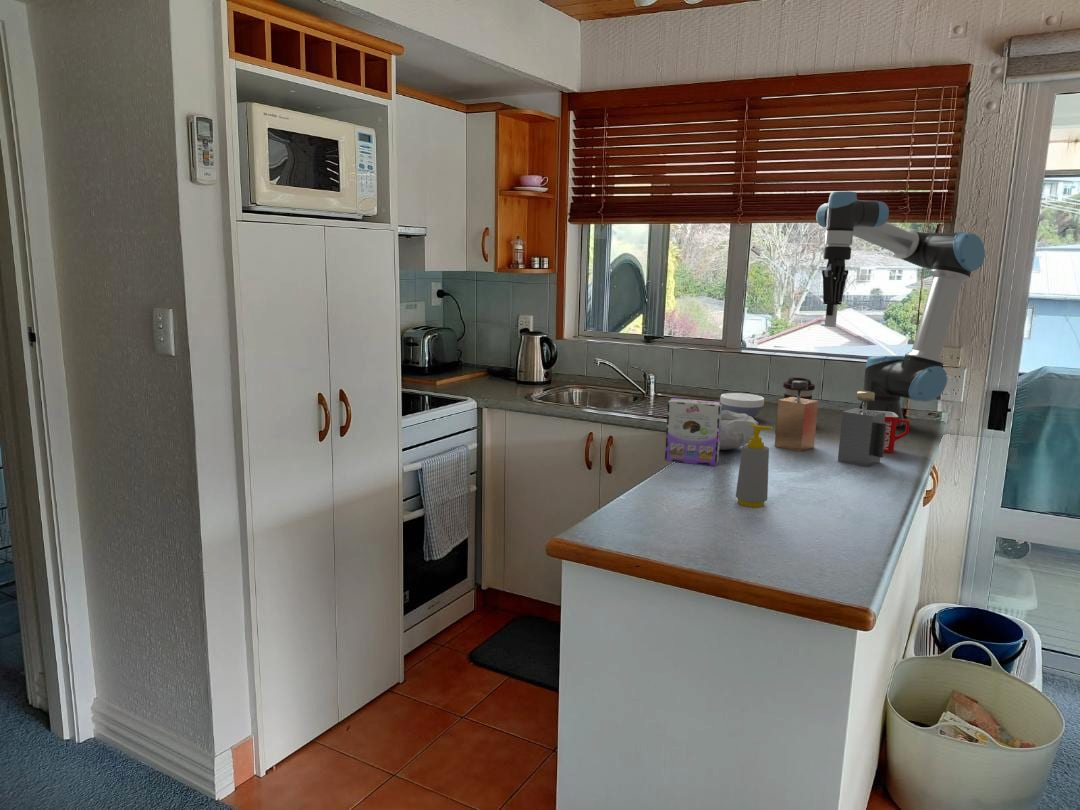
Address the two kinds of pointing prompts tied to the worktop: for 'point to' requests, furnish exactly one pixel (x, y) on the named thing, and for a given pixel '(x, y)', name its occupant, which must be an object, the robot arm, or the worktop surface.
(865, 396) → the beige t-shaped piece
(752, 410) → the bowl
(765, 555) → the worktop surface
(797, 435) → the tall wooden block
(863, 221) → the robot arm
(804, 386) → the grey t-shaped piece
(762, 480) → the soap bottle
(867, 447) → the grey block
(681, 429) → the candy box
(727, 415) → the white crumpled bag
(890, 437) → the mug
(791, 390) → the coffee cup
